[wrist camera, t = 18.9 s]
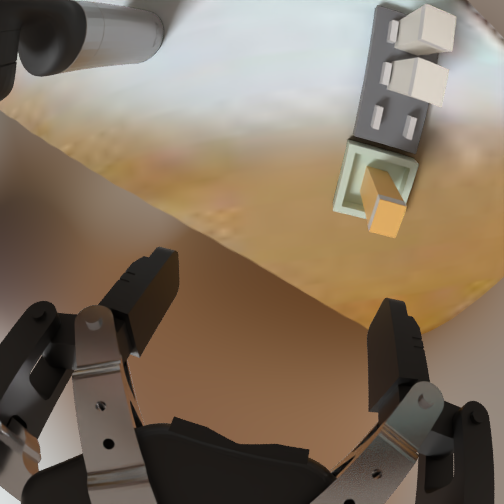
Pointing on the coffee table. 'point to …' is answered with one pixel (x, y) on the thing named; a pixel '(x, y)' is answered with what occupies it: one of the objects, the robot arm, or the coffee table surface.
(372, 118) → the fuse block
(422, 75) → the block
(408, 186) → the tray
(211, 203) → the coffee table surface
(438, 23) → the end white fuse
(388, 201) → the block
